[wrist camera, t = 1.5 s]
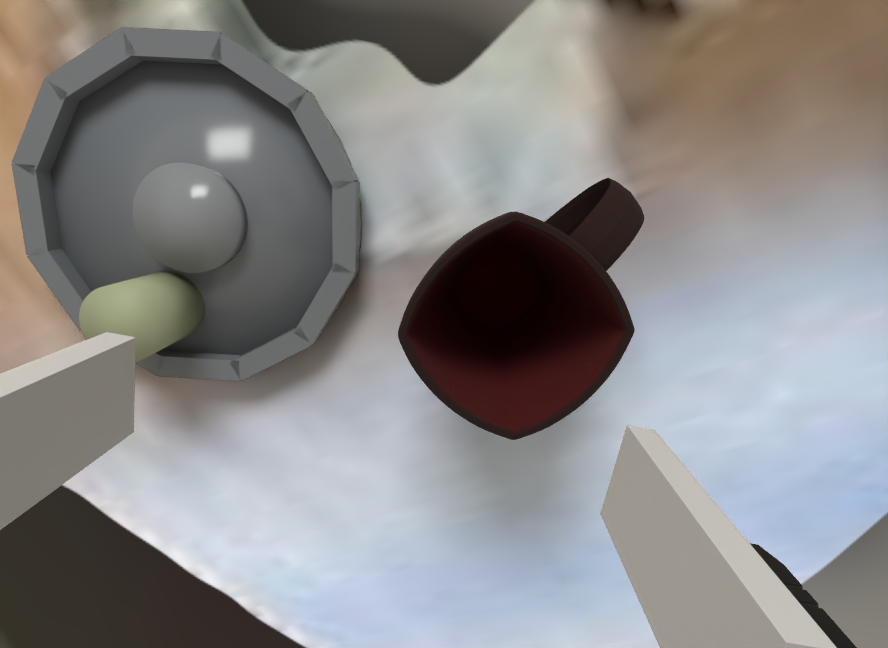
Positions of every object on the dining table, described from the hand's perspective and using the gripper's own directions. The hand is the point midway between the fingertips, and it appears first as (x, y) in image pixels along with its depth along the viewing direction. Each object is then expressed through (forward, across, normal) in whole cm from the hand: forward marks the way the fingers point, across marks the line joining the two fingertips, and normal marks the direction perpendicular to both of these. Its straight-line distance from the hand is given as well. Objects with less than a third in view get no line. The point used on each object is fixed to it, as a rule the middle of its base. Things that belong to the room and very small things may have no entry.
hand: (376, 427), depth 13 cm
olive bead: (+22, -17, -5) cm, 28 cm away
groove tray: (+23, -16, +2) cm, 28 cm away
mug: (+23, +6, +2) cm, 24 cm away
